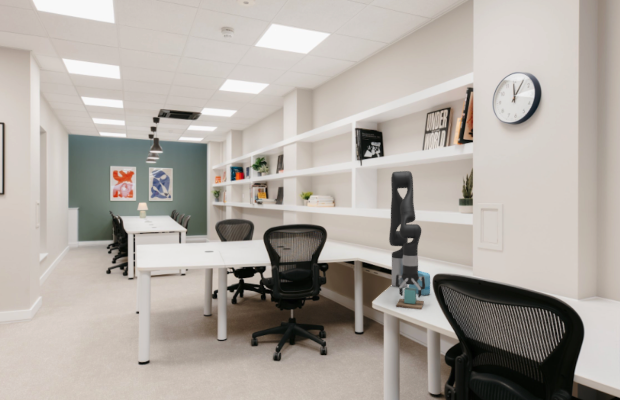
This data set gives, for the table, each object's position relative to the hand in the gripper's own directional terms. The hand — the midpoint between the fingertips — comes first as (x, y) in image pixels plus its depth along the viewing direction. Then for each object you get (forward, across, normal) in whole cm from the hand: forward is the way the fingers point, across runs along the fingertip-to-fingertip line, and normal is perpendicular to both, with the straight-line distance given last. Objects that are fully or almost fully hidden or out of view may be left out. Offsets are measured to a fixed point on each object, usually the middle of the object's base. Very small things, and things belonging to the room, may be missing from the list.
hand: (410, 296), depth 189 cm
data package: (+5, -2, -25) cm, 25 cm away
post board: (+4, 0, 0) cm, 4 cm away
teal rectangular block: (+3, 0, 0) cm, 3 cm away
